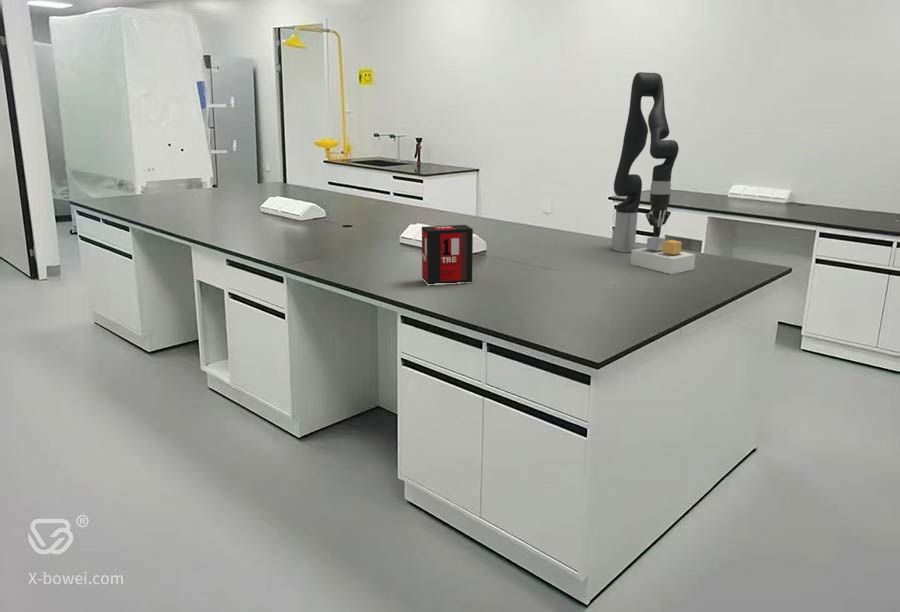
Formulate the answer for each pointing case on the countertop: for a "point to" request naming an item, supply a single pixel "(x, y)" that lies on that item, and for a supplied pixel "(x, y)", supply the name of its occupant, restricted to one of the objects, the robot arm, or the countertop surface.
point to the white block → (655, 243)
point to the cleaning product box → (447, 254)
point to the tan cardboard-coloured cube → (672, 247)
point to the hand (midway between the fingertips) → (656, 235)
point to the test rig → (663, 260)
